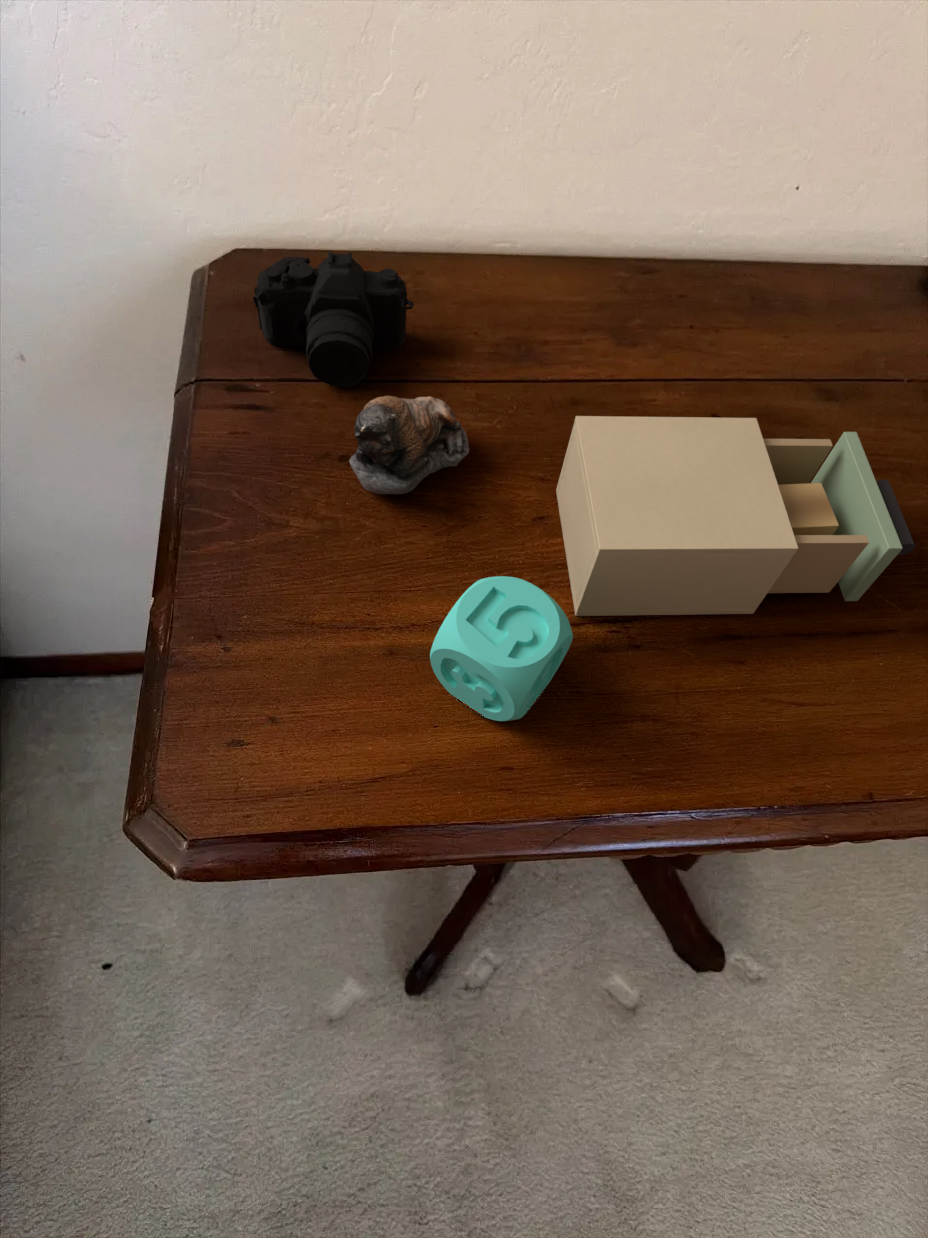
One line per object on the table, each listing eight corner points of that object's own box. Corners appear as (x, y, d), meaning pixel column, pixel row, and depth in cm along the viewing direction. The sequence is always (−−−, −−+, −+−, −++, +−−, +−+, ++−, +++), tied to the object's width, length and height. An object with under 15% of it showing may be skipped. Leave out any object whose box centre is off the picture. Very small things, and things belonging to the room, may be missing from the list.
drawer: (858, 489, 83) (900, 431, 76) (901, 600, 77) (950, 548, 70) (668, 489, 81) (694, 429, 74) (695, 603, 75) (726, 549, 68)
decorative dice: (482, 613, 73) (493, 557, 67) (563, 665, 71) (583, 613, 65) (425, 681, 70) (431, 629, 63) (509, 737, 68) (524, 690, 61)
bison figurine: (430, 417, 84) (436, 334, 76) (483, 459, 82) (496, 378, 74) (336, 483, 79) (331, 401, 71) (390, 529, 77) (392, 451, 68)
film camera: (253, 387, 84) (241, 310, 77) (262, 318, 89) (251, 240, 82) (411, 393, 86) (415, 318, 78) (411, 325, 91) (415, 249, 83)
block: (751, 518, 79) (770, 484, 75) (799, 515, 79) (821, 482, 75) (766, 560, 76) (787, 528, 72) (816, 557, 77) (839, 525, 73)
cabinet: (719, 490, 83) (756, 417, 74) (753, 614, 76) (798, 548, 67) (555, 490, 81) (575, 415, 73) (575, 616, 74) (599, 549, 66)
